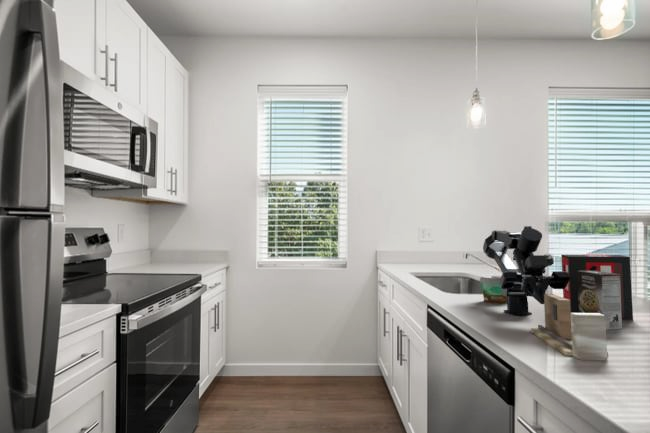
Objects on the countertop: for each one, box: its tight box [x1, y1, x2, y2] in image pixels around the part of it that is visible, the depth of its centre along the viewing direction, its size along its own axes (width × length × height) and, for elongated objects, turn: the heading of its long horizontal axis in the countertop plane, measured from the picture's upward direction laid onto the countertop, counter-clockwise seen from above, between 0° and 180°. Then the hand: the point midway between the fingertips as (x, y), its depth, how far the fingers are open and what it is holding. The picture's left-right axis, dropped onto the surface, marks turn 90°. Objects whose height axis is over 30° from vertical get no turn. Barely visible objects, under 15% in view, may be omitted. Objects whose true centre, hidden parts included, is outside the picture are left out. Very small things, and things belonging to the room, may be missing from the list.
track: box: [530, 313, 609, 361], centre depth 92 cm, size 22×9×10 cm, turn 171°
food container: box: [479, 276, 507, 305], centre depth 144 cm, size 12×6×10 cm, turn 81°
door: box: [543, 293, 572, 339], centre depth 97 cm, size 9×3×10 cm, turn 171°
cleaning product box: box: [561, 254, 634, 322], centre depth 121 cm, size 16×9×20 cm, turn 70°
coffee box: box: [577, 270, 623, 331], centre depth 109 cm, size 9×6×16 cm
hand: (543, 303), depth 105 cm, fingers closed
